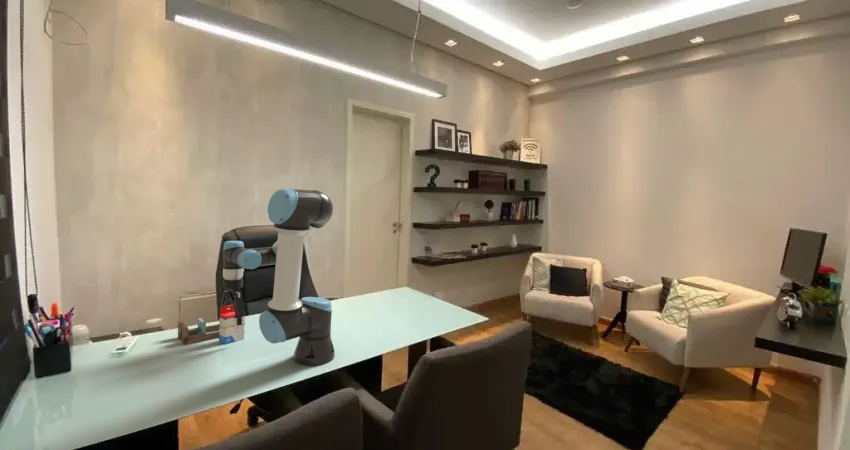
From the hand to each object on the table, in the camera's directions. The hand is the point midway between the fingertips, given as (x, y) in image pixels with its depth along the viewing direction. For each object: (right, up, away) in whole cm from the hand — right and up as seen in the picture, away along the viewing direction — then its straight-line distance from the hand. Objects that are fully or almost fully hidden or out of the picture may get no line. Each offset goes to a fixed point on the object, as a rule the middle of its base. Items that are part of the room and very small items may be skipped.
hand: (232, 327), depth 160 cm
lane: (-12, -4, +4) cm, 14 cm away
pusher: (-16, -4, 0) cm, 17 cm away
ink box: (0, -6, 0) cm, 6 cm away
